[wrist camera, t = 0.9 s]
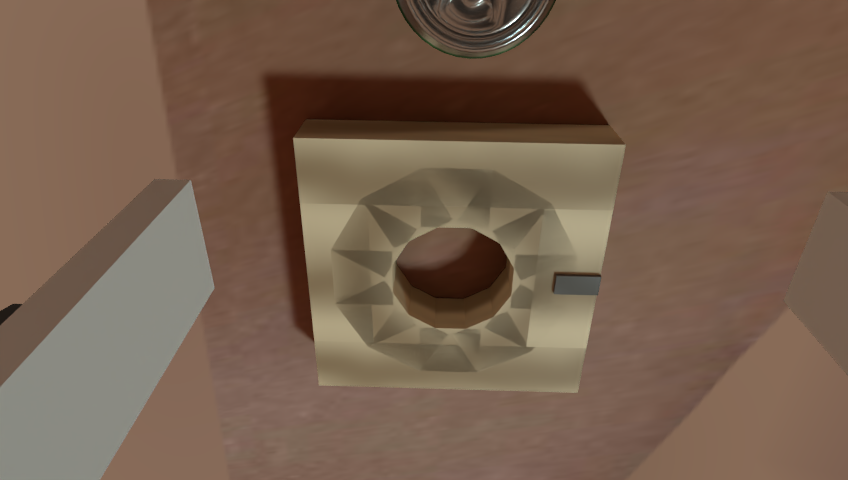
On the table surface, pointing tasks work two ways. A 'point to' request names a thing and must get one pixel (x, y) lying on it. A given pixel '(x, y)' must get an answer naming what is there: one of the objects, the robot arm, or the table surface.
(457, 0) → the soda can
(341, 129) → the hub block
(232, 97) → the table surface
